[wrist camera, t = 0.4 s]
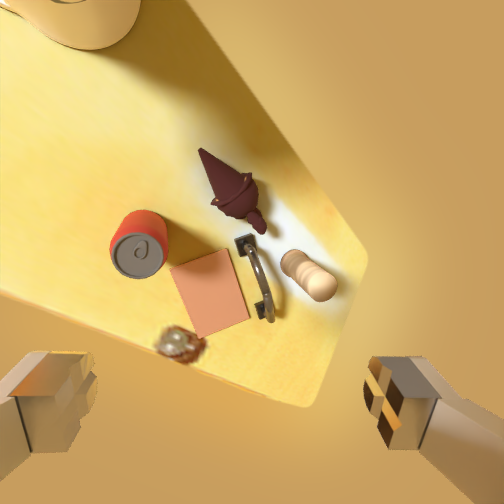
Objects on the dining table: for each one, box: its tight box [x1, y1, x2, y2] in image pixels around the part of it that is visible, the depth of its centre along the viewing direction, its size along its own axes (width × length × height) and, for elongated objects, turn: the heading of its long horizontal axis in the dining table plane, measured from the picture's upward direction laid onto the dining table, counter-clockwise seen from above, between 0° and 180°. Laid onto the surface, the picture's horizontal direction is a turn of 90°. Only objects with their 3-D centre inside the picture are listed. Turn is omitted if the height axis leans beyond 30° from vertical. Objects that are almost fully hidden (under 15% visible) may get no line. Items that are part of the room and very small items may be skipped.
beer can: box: [109, 210, 168, 279], centre depth 38 cm, size 7×7×12 cm
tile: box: [170, 248, 249, 339], centre depth 50 cm, size 14×10×1 cm
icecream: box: [198, 148, 267, 235], centre depth 42 cm, size 7×7×15 cm
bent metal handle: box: [234, 233, 275, 323], centre depth 48 cm, size 16×3×7 cm, turn 16°
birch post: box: [280, 249, 337, 302], centre depth 48 cm, size 5×5×11 cm
